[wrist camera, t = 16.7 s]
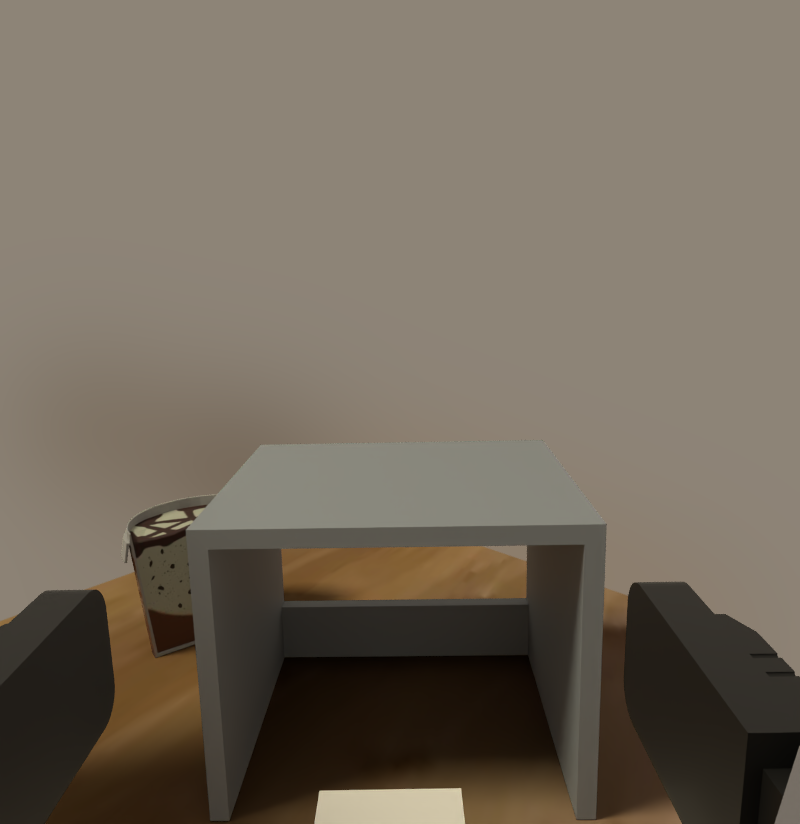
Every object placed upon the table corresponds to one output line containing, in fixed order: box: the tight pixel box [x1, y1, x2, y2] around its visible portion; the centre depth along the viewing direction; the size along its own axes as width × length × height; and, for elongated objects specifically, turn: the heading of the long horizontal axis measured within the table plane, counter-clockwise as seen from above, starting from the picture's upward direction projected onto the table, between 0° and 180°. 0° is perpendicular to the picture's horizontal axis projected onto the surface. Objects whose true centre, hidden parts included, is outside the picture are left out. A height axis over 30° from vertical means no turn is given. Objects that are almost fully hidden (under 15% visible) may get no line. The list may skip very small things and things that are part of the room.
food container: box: [121, 494, 217, 658], centre depth 57 cm, size 12×6×10 cm, turn 127°
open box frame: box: [186, 440, 607, 821], centre depth 44 cm, size 20×17×16 cm
